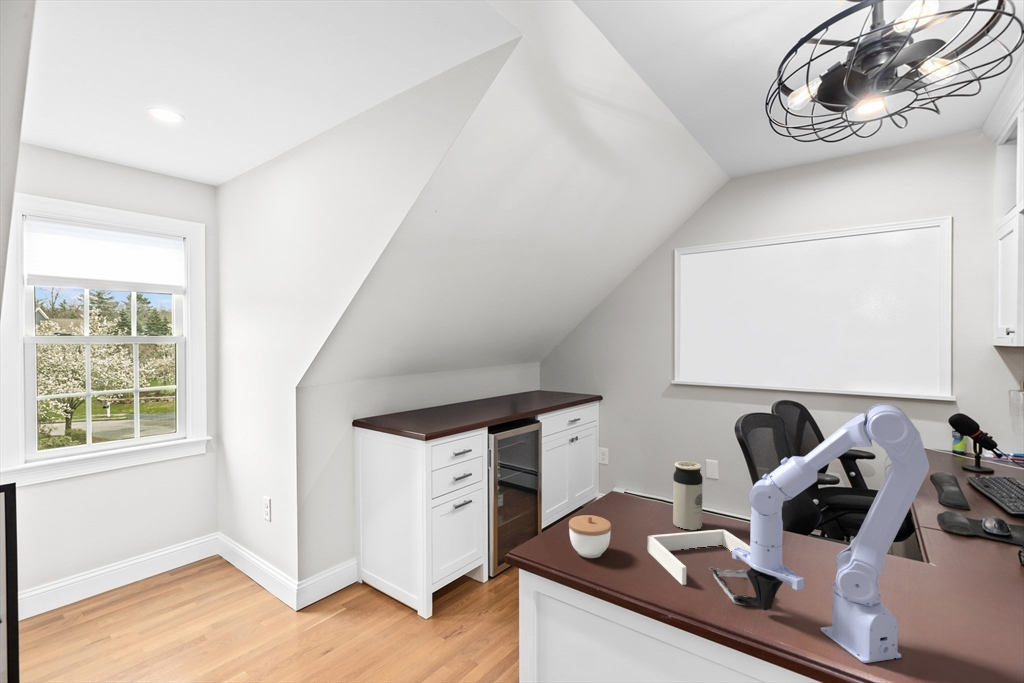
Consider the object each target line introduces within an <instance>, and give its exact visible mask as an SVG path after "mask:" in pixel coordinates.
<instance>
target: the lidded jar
mask: <svg viewBox="0 0 1024 683" xmlns="http://www.w3.org/2000/svg"><path fill="white" fill-rule="evenodd" d="M568 528H569V532H568V533H569V538H570V540H569V541H570V543H571V545H572V547H573V549H574V550H575V551H576V552H577V554H578V555H579V556H581V557H583V558H586V559H596V558H597V559H598V558H600V557H601V556H602V554H603V553H604V552H605V551H606V550H607V548H608V547H609V544H610V541H611V535H612V534H611V531H612V530H611V529H612V524H611V522H610V521H609V520H608V519H606V518H604V517H601V516H598V515H591V514H590V515H588V514H584V515H583V514H582V515H577V516H574V517H572V518H570V519H569V521H568Z"/></svg>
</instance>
